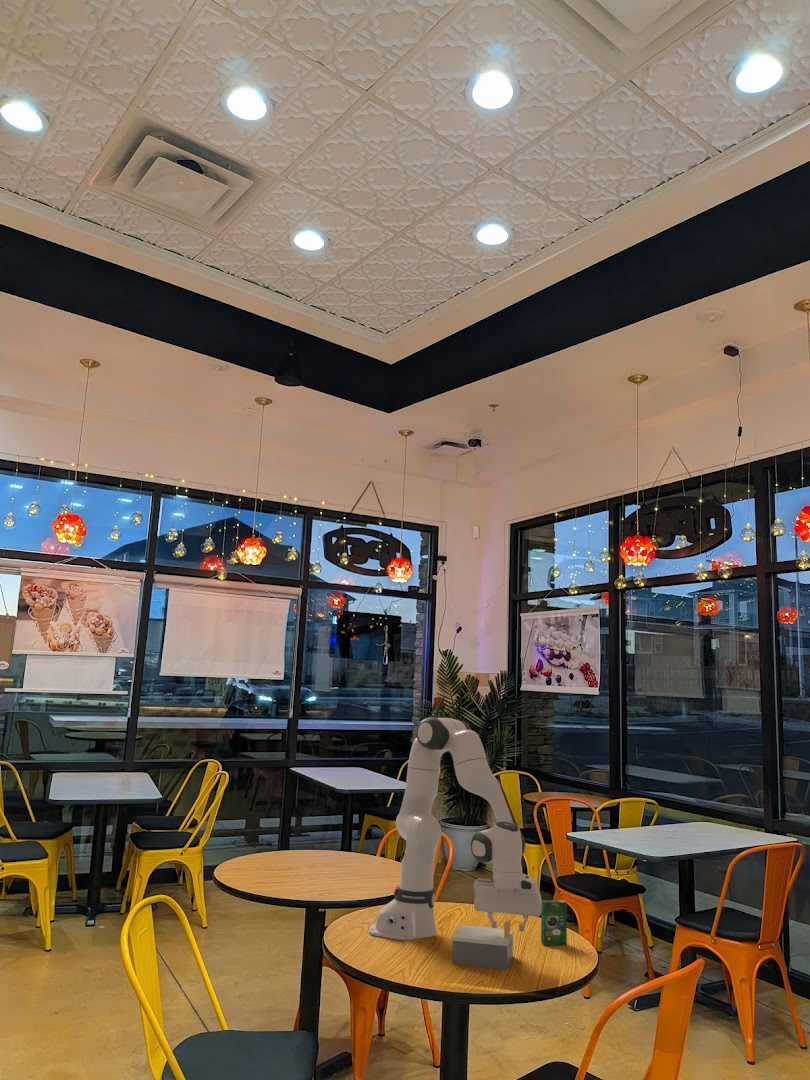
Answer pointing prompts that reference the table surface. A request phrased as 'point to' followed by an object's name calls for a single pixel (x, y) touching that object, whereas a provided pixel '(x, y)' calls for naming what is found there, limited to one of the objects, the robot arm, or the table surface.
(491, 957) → the tub
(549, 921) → the coffee box
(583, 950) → the table surface
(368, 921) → the table surface
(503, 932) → the lid
